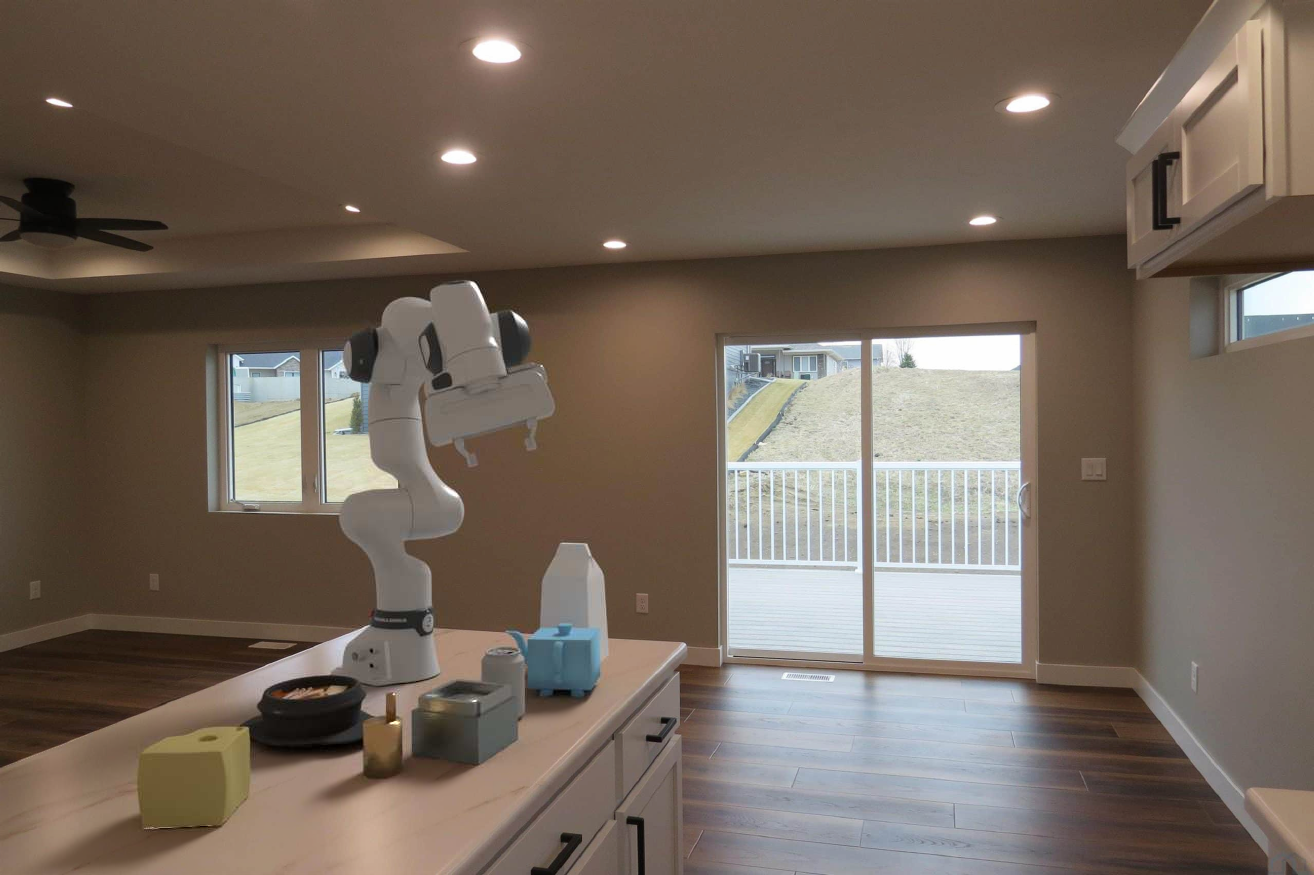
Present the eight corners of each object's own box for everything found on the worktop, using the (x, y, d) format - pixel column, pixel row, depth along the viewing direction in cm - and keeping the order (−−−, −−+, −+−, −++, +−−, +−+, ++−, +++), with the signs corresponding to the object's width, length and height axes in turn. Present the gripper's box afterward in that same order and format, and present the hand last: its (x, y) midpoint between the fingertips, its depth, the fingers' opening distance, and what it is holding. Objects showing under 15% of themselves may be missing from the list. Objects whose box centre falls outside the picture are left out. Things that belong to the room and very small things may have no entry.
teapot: (602, 679, 179) (601, 616, 179) (589, 702, 163) (588, 633, 163) (515, 678, 181) (515, 615, 181) (494, 700, 165) (493, 632, 165)
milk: (538, 666, 190) (537, 545, 190) (559, 653, 201) (558, 539, 201) (590, 670, 186) (589, 547, 186) (609, 657, 197) (608, 541, 197)
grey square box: (411, 755, 137) (411, 697, 137) (455, 731, 148) (454, 677, 148) (478, 764, 133) (478, 705, 133) (518, 739, 144) (517, 684, 144)
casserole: (208, 748, 141) (208, 696, 141) (290, 713, 159) (290, 667, 159) (339, 765, 133) (339, 709, 133) (410, 726, 151) (409, 677, 151)
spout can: (361, 780, 127) (360, 701, 127) (365, 766, 132) (364, 690, 132) (401, 777, 128) (400, 698, 128) (403, 763, 134) (403, 687, 134)
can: (515, 725, 151) (515, 655, 151) (475, 723, 152) (474, 653, 152) (530, 712, 158) (530, 645, 158) (491, 709, 160) (491, 643, 160)
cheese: (174, 799, 121) (173, 726, 121) (255, 796, 122) (254, 724, 122) (136, 833, 111) (135, 754, 111) (225, 829, 112) (224, 750, 112)
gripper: (541, 365, 145) (565, 443, 143) (417, 396, 141) (440, 478, 138) (543, 353, 139) (568, 435, 137) (413, 385, 134) (438, 471, 132)
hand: (503, 457), depth 138 cm, fingers open, 8 cm apart
